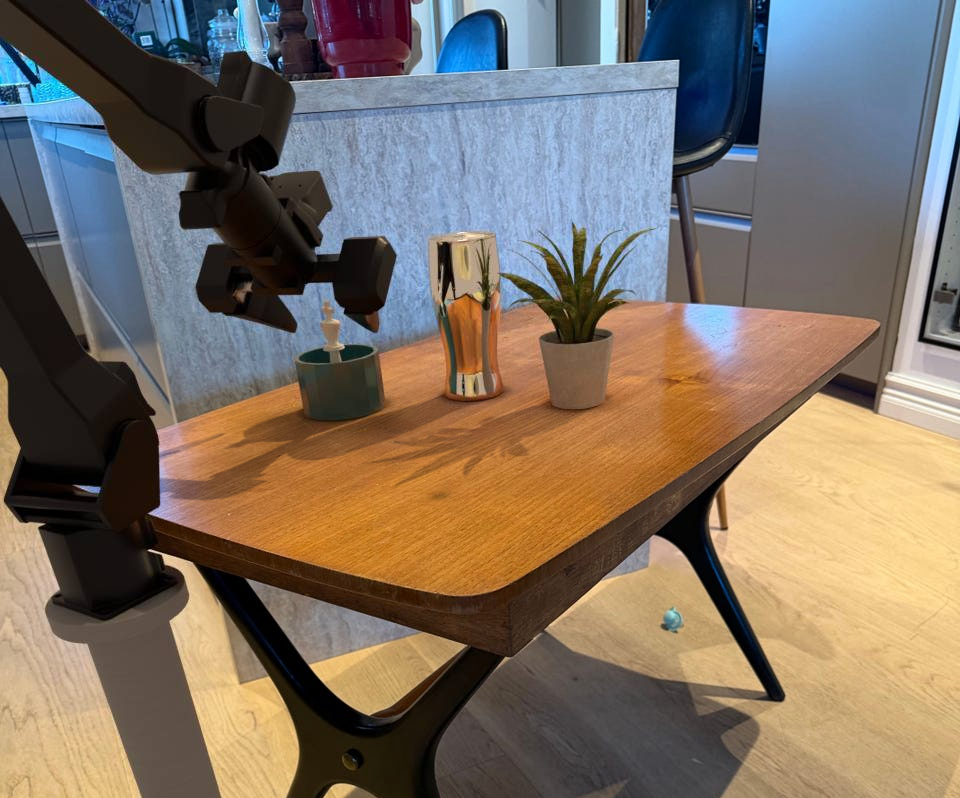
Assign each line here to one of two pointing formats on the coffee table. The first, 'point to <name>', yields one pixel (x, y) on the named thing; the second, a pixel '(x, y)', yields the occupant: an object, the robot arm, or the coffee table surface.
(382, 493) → the coffee table surface
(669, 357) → the coffee table surface
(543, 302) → the house plant
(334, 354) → the chess piece
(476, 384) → the beer glass
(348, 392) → the pot
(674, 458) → the coffee table surface
